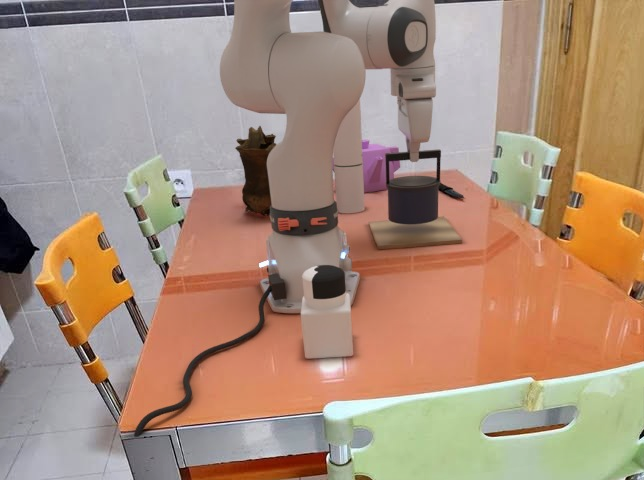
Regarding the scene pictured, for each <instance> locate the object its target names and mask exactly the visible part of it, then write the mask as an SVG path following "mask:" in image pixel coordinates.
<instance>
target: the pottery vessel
mask: <svg viewBox="0 0 644 480" xmlns="http://www.w3.org/2000/svg"><path fill="white" fill-rule="evenodd" d="M276 137H277V136H276V135H275V134H274V133H271V134H265V133H264V132H263V128H262V125H259V126H258V127H257V129H255V128H254V127H253V126H250V127H249V128H248V136H247V138H244V139H242V138H237V139H236V143H237V144H238V145H237V146H236V147H235V148H234V149H235V150H236V151H237V152H238V153H239V157H240V160H241V164H242V166H243V174H244V179H245V180H244V185H243V186H242V190H241V194H242V196H241V197H242V198H241V199H242V202H243V204H244V205H245V212H246V213H248V212H251V213H254V214H257V213H260V215H261V216H263V217H266V216H269V217H270V206H271V205H272V204H271V196H270V187H269V179H268V171H267V158H268V155H269V153H270V152H271V150H272V149H273V148H274V147H275V146H276V145H277V143H276V142H275V139H276Z"/></svg>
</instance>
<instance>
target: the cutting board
mask: <svg viewBox="0 0 644 480" xmlns="http://www.w3.org/2000/svg"><path fill="white" fill-rule="evenodd" d="M368 227H369V229H370V232H371V235H372V237H373V239H374V242H375V245H376V247H377V249H378V250H389V249H390V250H392V249H403V248H404V249H405V248H417V247H429V246H430V247H431V246H442V245H455V244H457V245H459V244H462V243H463V239H462V238H461V236H460V235H459V234H458V233H457V232H456V230H455V229H454V227H453V226H452V225H451V224H450V222H449V221H448V220H447V219H446V217H445V216H442V215H441V216H438V218H437V219H436V220H434V221H432V222H428V223H423V224H398V223H394V222H391V221H390V220H389V219H387V220H386V219H385V220H373V221H368Z"/></svg>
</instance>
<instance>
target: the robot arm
mask: <svg viewBox="0 0 644 480" xmlns="http://www.w3.org/2000/svg"><path fill="white" fill-rule="evenodd" d="M293 1H294V0H234V1H233V6H234V7H233V9H234V10H233V12H234V13H233V26H232V31H231V35H230V38H229V41H228V43H227V45H226V46H225V48H224V49H223V51H222V54H221V57H220V63H219V79H220V83H221V86H222V90H223V91H224V94H225V96H226V98H228V100H229V101H230V102H231V103H232V104H233V105H235V106H236V107H239V108H241V109H244V110H248V111H251V112H254V113H257V114H269V115H271V114H274V115H286V116H285V117H286V125H285V132H284V136H283V138H282V140H281V141H279V142H278V143H276V146H275V147H274V148H273V149H272V150H271V152H270V153H269V155H268V158H267V171H268V179H269V187H270V196H271V204H272V205H271V206H270V216H269V220H270V226H271V229H272V232H271V233H270V234H269V236H267V238H266V239H265V245H266V255H267V260H265V261H262V262H260V263H259V264H258V265H259V268H262V267H266V272H267V273H268V275H267V277H265V278H263V279H261V280H260V281H259V282H260V283H259V287H260V290H261V291H262V293H263V294H262V296H261V297H260V300H259V302H258V314H259V315H258V316H259V320H258V322H257V325H256V326H255V327H254V328H253V329H251V330H249V331H247V332H246V333H244V334H242V335H240V336H238V337H237V338H234V339H231V340H229V341H226V342H223V343H220V344H218V345H215V346H212V347H210V348H207V349H205V350H203V351H201V352H200V353H198V354H197V355H196V356H195V357H194V358H192V360H191V361H190V362H189V364H188V366H187V368H186V370H185V372H184V374H183V377H182V382H183V386H184V390H185V395H184V397H183V398H182V400H181V401H178V402H177V403H175V404H172V405H167V406H165V407H161V408H158V409H155V410H153V411H151V412H149V413H148V414H146V415H145V416H144V417H143V418H142V419H140V421H139V422H138V424H137V426H136V427H135V430H134V433H133V437H135V438H137V437H140V436H141V435H143V432H144V429H145V428H146V426H147V425H148V424H149V423H150V422H151V421H152V420H153V419H155V418H157V417H160V416H161V415H162V416H163V415H165V414H170V413H172V412H175V411H179V410H181V409H183V408H185V407H186V406H187V405H189V403H190V401H191V399H192V396H193V389H192V386H191V384H190V377H191V375H192V372H193V370H194V369H195V367H196V366H197V365H198V363H199V362H200V361H202V360H203V359H204V358H206V357H207V356H209V355H212V354H214V353H217V352H218V351H219V352H220V351H223V350H224V349H228V348H230V347H234V346H236V345H238V344H240V343H242V342H244V341H246V340H248V339H250V338H251V337H254V336H255V335H256V334H258V333H259V332H260V331H261V330H262V327H263V326H264V324H265V319H266V317H265V310H264V309H265V308H264V307H265V303H266V301H267V303H268V305H269V307H270V309H271V311H272V312H274V313H280V314H281V313H282V314H301V306H302V298H303V296H304V289H303V279H302V275H303V273H304V272H305V271H306V270H308V269H310V268H312V267H314V266H319V265H332V266H336V267H339V268H341V269H342V270H343V271H344V272H345V286H346V293H348V294H349V295H350V305H351V306H352V305H353V304H354V301H355V297H356V294H357V290H358V288H359V285H360V281H361V276H360V275H361V274H360V273H359V272H357V271H353V259H352V257H349V254H350V252H351V249H350V245H349V244H348V236H347V233H346V232H345V231H344V230H342V229H341V228H340V227H339V212H338V209H337V203H336V199H335V195H334V194H335V193H334V192H335V191H334V171H333V157H334V156H333V149H334V144H335V139H336V136H337V133H338V130H339V128H340V125H341V123H342V121H343V120H344V118H345V116H346V115H347V114H348V112H349V111H350V110H351V109H352V108H353V107H354V106H355V105H356V104H357V102H358V101H359V99H360V100H361V97H362V95H363V93H364V89H365V85H366V77H367V76H366V70H384V69H385V70H387V69H388V70H390V95H391V96H393V97H396V103H397V127H398V130H399V131H400V132H401V133H402V134H403V135H404V136H405V144H406V152H409V159H410V160H409V161H410V162H411V163H417V162H419V160H420V159H419V151H420V149H421V144H423V143H424V144H425V143H428V142H429V141H430V138H431V133H432V121H433V107H434V106H433V105H434V103H433V102H434V101H433V99H434V98H436V96H437V86H436V61H435V55H434V48H435V43H436V38H437V37H436V36H437V31H436V30H437V26H436V25H437V20H436V18H437V17H436V6H435V5H436V4H435V0H387V1H386V2H384V3H383V5H378V6H369V7H368V6H367V7H358V6H356V5H354V4H353V3H352V2H351V1H350V0H317V3H318V6H319V11H320V16H321V21H322V28H323V29H322V31H303V32H301V31H299V32H292V30H291V23H290V22H291V21H290V12H291V6H292V2H293Z"/></svg>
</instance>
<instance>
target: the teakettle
mask: <svg viewBox="0 0 644 480" xmlns="http://www.w3.org/2000/svg"><path fill="white" fill-rule="evenodd" d="M370 142H371V141H370V139H362V159H363V182H364V194H366V193H372V192H373V193H374V192H380V191H381V192H382V191H388V188H387V187H386V161H385V153H396V152H400V150H399V147H398V146H385V145H382V144H379V143H370ZM399 169H401V161H389V179H393V178H395V173H396V172H397V171H398V170H399ZM333 172H334V158H333Z"/></svg>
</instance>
